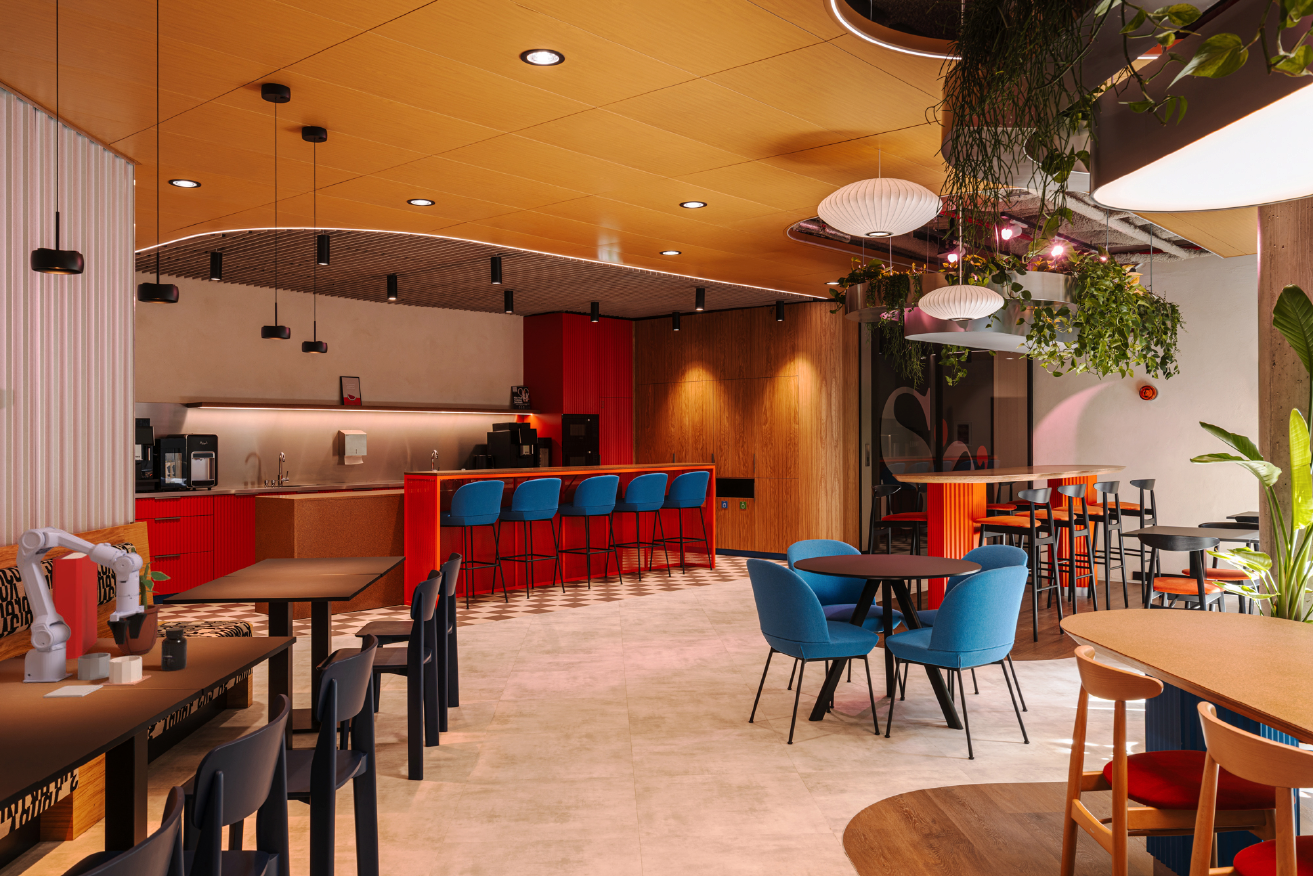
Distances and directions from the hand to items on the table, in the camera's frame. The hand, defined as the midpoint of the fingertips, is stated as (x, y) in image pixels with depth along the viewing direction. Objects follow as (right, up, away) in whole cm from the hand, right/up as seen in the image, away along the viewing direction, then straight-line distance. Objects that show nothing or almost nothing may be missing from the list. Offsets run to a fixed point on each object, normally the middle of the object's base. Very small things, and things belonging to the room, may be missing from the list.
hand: (127, 641), depth 257 cm
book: (-38, -11, +34) cm, 53 cm away
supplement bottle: (+9, -11, +9) cm, 17 cm away
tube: (+3, -10, -5) cm, 12 cm away
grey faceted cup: (-10, -10, 0) cm, 14 cm away
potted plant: (-16, -11, +32) cm, 37 cm away
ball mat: (-5, -10, -16) cm, 20 cm away
